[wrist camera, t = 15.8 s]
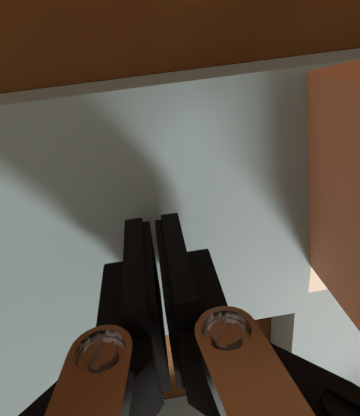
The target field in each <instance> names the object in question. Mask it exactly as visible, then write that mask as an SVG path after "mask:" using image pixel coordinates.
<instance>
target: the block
mask: <svg viewBox="0 0 360 416" xmlns="http://www.w3.org/2000/svg"><path fill="white" fill-rule="evenodd" d="M307 80H308V156H309V232H310V266H311V267H312V269H313V270H314V271H315V273H316V274H317V275H318V277H319V278H320V279H321V281H322V282H323V283H324V285H325V286H326V287H327V289H328V290H329V291H330V293H331V294H332V295H333V297H334V298H335V299H336V301H337V302H338V303H339V305H340V306H341V307H342V309H343V310H344V311H345V313H346V314H347V315H348V317H349V318H350V319H351V321H352V322H353V323H354V325H355V326H356V327H357V329H358V330H359V331H360V59H359V60H354V61H350V62H346V63H341V64H337V65H333V66H328V67H324V68H320V69H315V70H311V71H307Z"/></svg>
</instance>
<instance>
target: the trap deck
mask: <svg viewBox="0 0 360 416" xmlns="http://www.w3.org/2000/svg"><path fill="white" fill-rule="evenodd" d="M359 59H360V48H356V49H348V50H340V51H333V52H325V53H317V54H309V55H301V56H293V57H285V58H278V59H270V60H262V61H254V62H246V63H238V64H230V65H223V66H215V67H207V68H199V69H191V70H183V71H175V72H168V73H160V74H152V75H144V76H136V77H128V78H120V79H113V80H105V81H97V82H89V83H81V84H73V85H65V86H58V87H50V88H42V89H34V90H26V91H18V92H10V93H3V94H0V416H18V415H19V414H20V413H22V412H23V411H24V410H25V409H26V408H27V407H28V406H29V405H30V404H32V403H33V402H34V401H35V400H36V399H37V398H38V397H39V396H41V395H42V394H43V393H44V392H45V391H46V390H47V389H48V388H49V387H51V386H52V385H53V384H54V383H55V382H56V381H57V380H58V378H59V375H60V372H61V370H62V367H63V364H64V362H65V359H66V356H67V354H68V351H69V349H70V347H71V346H72V344H73V342H74V341H75V340H76V339H77V338H78V337H79V336H80V335H81V334H83V333H84V332H86V331H87V330H89V329H92V328H94V327H96V323H97V315H98V307H99V299H100V291H101V283H102V275H103V268H104V265H105V264H108V263H114V262H121V261H123V248H124V226H125V220H128V219H135V218H142V219H143V222H146V221H149V222H150V228H151V234H152V240H153V247H154V253H155V259H156V266H157V272H158V278H159V284H160V291H161V300H162V309H163V319H164V329H165V335H169V333H168V326H167V320H166V313H165V306H164V298H163V290H162V281H161V272H160V263H159V254H158V245H157V236H156V227H155V220H160V219H161V215H163V214H170V213H178V216H179V220H180V225H181V229H182V233H183V237H184V241H185V245H186V249H187V252H188V251H195V250H201V249H208V250H209V252H210V255H211V258H212V261H213V264H214V267H215V270H216V273H217V276H218V278H219V281H220V284H221V287H222V290H223V293H224V296H225V299H226V302H227V305H228V306H233V307H236V308H239V309H242V310H244V311H245V312H247V313H249V314H250V315H251V316H252V317H253V318H254V320H257V319H263V318H268V317H271V343H272V344H274V345H276V346H279V347H281V348H283V349H285V350H287V351H289V352H291V353H293V354H295V355H297V356H299V357H301V358H303V359H305V360H307V361H309V362H311V363H313V364H315V365H317V366H320V367H322V368H324V369H326V370H328V371H330V372H332V373H334V374H336V375H338V376H340V377H342V378H344V379H346V380H348V381H350V382H352V383H354V384H355V385H357V386H359V387H360V331H359V330H358V329H357V327H356V326H355V325H354V323H353V322H352V321H351V319H350V318H349V317H348V315H347V314H346V313H345V311H344V310H343V309H342V307H341V306H340V305H339V303H338V302H337V301H336V299H335V298H334V297H333V295H332V294H331V293H330V291H329V290H328V289H327V287H326V286H325V285H324V283H323V282H322V281H321V279H320V278H319V277H318V275H317V274H316V273H315V271H314V270H313V269H312V267H311V266H310V232H309V156H308V80H307V71H311V70H315V69H320V68H324V67H328V66H333V65H337V64H341V63H346V62H350V61H354V60H359ZM156 416H203V414H202V413H201V412H199V411H198V410H196V409H195V408H193V407H192V406H191V405H189V404H188V401H187V396H181V397H176V398H170V399H165V400H164V406H162V409H161V410H160V412H159V413H158V414H157V415H156Z"/></svg>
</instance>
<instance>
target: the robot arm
mask: <svg viewBox="0 0 360 416" xmlns="http://www.w3.org/2000/svg"><path fill="white" fill-rule="evenodd" d="M155 227H156V236H157V245H158V254H159V263H160V272H161V281H162V290H163V298H164V306H165V313H166V320H167V326H168V333H169V339H170V346H171V352H172V358H173V365H174V371H175V378H176V384H177V390H178V389H184V388H186V395H187V401H188V404H189V405H191V406H192V407H193V408H195V409H196V410H198V411H199V412H201V413H202V414H203V416H360V387H359V386H357V385H355V384H354V383H352V382H350V381H348V380H346V379H344V378H342V377H340V376H338V375H336V374H334V373H332V372H330V371H328V370H326V369H324V368H322V367H320V366H317V365H315V364H313V363H311V362H309V361H307V360H305V359H303V358H301V357H299V356H297V355H295V354H293V353H291V352H289V351H287V350H285V349H283V348H281V347H279V346H276V345H274V344H272V343H270V342H269V341H268V340H267V338H266V337H265V335H264V333H263V332H262V330H261V329H260V327H259V326H258V324H257V322H256V321H255V320H254V318H253V317H252V316H251V315H250V314H249V313H247V312H245V311H244V310H242V309H239V308H236V307H233V306H228V305H227V302H226V299H225V296H224V293H223V290H222V287H221V284H220V281H219V278H218V276H217V273H216V270H215V267H214V264H213V261H212V258H211V255H210V252H209V250H208V249H201V250H195V251H188V252H187V249H186V245H185V241H184V237H183V233H182V229H181V225H180V220H179V216H178V213H170V214H163V215H161V219H160V220H155ZM167 391H171V386H170V376H169V367H168V357H167V348H166V338H165V329H164V319H163V309H162V300H161V291H160V284H159V278H158V272H157V266H156V259H155V253H154V247H153V240H152V234H151V228H150V222H149V221H146V222H143V219H142V218H135V219H128V220H125V226H124V248H123V261H121V262H114V263H108V264H105V265H104V268H103V275H102V283H101V291H100V299H99V307H98V315H97V323H96V327H94V328H92V329H89V330H87V331H86V332H84V333H83V334H81V335H80V336H79V337H78V338H77V339H76V340H75V341H74V342H73V344H72V346H71V347H70V349H69V351H68V354H67V356H66V359H65V362H64V364H63V367H62V370H61V372H60V375H59V378H58V380H57V381H56V382H55V383H54V384H53V385H52V386H51V387H49V388H48V389H47V390H46V391H45V392H44V393H43V394H42V395H41V396H39V397H38V398H37V399H36V400H35V401H34V402H33V403H32V404H30V405H29V406H28V407H27V408H26V409H25V410H24V411H23V412H22V413H20V414H19V415H18V416H156V415H157V414H158V413H159V412H160V410H161V409H162V406H164V394H163V392H167Z"/></svg>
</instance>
